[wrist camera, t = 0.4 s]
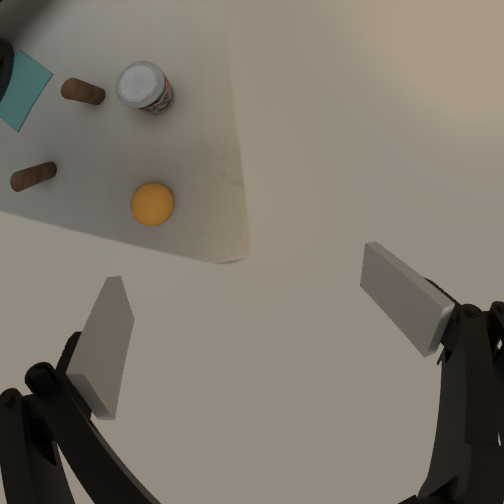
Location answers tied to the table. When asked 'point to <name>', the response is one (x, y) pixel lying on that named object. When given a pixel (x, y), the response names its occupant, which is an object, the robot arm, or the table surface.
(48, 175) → the post
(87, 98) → the post
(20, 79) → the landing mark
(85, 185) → the table surface
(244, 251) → the table surface
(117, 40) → the table surface
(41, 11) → the table surface
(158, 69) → the beer can
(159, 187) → the ball
